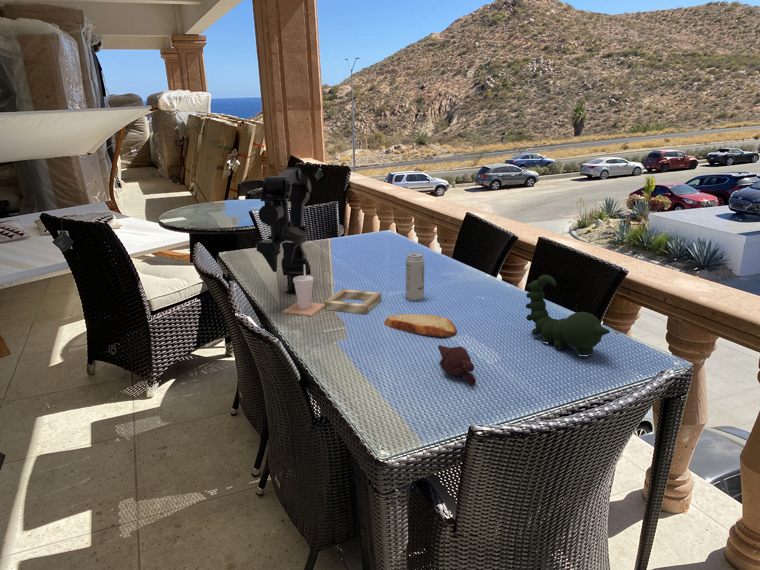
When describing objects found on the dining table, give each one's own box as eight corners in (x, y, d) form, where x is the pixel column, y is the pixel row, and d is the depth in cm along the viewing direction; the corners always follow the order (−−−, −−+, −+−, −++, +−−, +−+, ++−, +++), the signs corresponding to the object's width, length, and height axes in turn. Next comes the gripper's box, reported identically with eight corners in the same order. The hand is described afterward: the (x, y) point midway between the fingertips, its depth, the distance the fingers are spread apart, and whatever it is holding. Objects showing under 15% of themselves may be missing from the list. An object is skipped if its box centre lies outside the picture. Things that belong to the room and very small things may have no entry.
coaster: (282, 313, 164) (282, 311, 164) (298, 302, 173) (298, 301, 173) (311, 316, 161) (311, 314, 161) (325, 306, 170) (325, 304, 170)
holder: (324, 309, 167) (324, 302, 166) (342, 295, 179) (342, 288, 178) (366, 314, 162) (365, 306, 161) (381, 300, 175) (381, 293, 174)
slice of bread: (381, 322, 157) (381, 310, 156) (437, 315, 162) (437, 303, 161) (400, 345, 141) (400, 332, 140) (462, 337, 146) (462, 324, 144)
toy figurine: (518, 341, 145) (595, 369, 124) (518, 274, 141) (598, 291, 120) (542, 334, 150) (621, 360, 129) (543, 269, 146) (624, 284, 125)
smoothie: (311, 311, 163) (309, 267, 159) (291, 310, 164) (289, 266, 160) (317, 304, 169) (315, 262, 165) (298, 303, 170) (296, 261, 166)
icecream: (423, 340, 127) (457, 370, 115) (449, 328, 129) (485, 357, 117) (428, 363, 130) (461, 395, 118) (453, 351, 132) (488, 381, 120)
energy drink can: (422, 302, 172) (423, 257, 168) (404, 301, 174) (404, 256, 169) (424, 296, 178) (425, 253, 174) (407, 295, 179) (407, 252, 175)
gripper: (287, 225, 150) (290, 278, 154) (316, 214, 166) (319, 262, 171) (253, 223, 153) (257, 275, 158) (285, 213, 170) (288, 260, 175)
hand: (282, 268), depth 165 cm, fingers open, 9 cm apart
